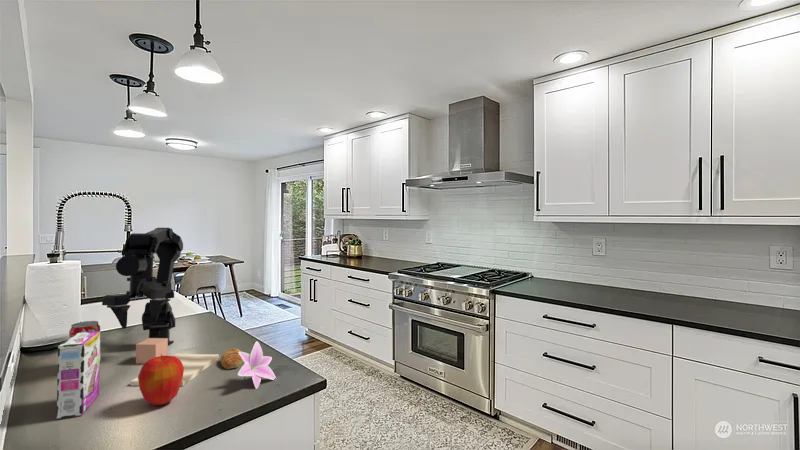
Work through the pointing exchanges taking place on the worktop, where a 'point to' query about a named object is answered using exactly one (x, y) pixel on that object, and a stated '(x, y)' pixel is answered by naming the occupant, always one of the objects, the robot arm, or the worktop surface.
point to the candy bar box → (78, 374)
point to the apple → (160, 379)
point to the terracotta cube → (151, 349)
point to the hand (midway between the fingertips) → (139, 325)
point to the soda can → (84, 328)
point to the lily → (256, 365)
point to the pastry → (231, 359)
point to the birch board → (190, 366)
